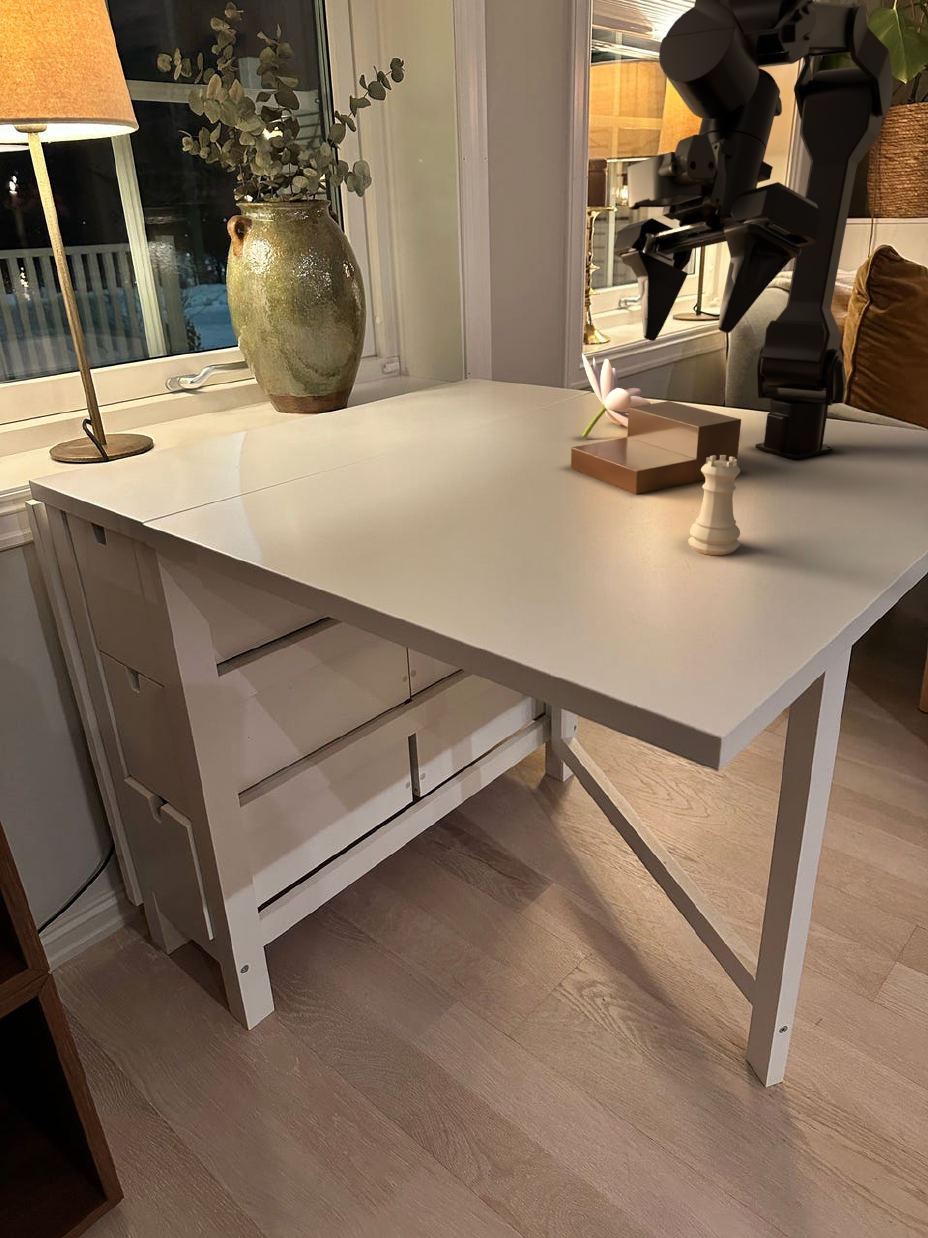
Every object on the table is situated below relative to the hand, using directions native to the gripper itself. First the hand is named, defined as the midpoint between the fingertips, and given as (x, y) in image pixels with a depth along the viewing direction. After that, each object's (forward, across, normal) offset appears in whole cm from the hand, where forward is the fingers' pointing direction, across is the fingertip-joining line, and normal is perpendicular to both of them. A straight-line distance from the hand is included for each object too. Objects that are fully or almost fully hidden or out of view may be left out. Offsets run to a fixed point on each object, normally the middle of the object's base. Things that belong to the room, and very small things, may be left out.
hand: (684, 335), depth 75 cm
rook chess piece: (+17, +2, +7) cm, 19 cm away
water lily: (+4, -34, +22) cm, 40 cm away
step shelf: (+9, -19, +17) cm, 27 cm away
